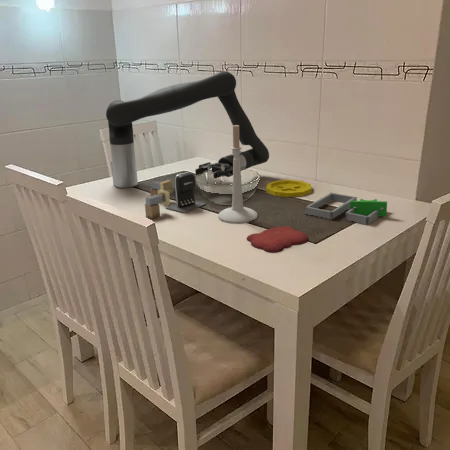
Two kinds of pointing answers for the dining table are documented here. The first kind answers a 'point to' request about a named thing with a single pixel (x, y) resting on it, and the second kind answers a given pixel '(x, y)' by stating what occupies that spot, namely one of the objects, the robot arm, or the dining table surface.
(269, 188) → the decorative disc
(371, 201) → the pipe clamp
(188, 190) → the battery charger
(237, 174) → the candlestick
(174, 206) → the plate
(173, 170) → the dining table surface
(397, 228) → the dining table surface
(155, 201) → the set of rectangular blocks
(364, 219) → the parts corral
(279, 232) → the patty
